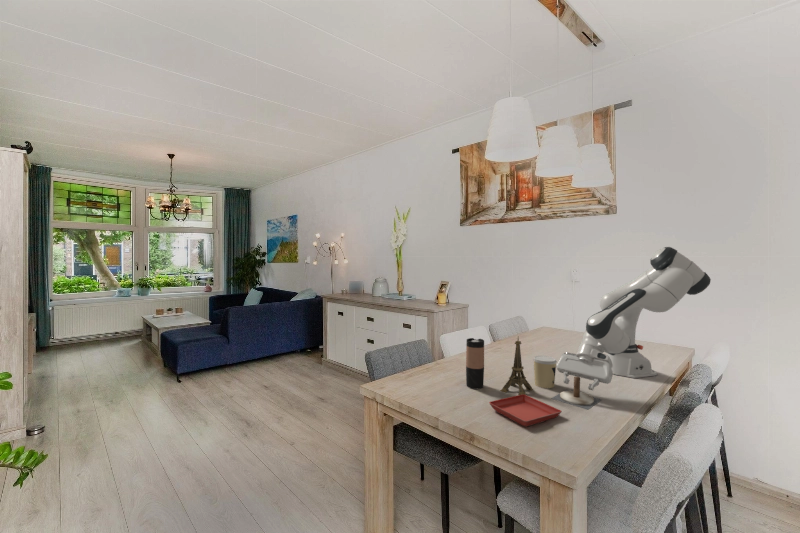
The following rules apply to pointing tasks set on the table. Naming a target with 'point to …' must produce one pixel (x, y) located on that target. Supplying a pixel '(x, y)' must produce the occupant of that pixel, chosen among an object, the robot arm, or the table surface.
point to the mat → (575, 404)
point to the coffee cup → (544, 371)
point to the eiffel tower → (517, 370)
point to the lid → (577, 395)
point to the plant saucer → (525, 409)
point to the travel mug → (474, 363)
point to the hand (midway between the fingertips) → (577, 386)
